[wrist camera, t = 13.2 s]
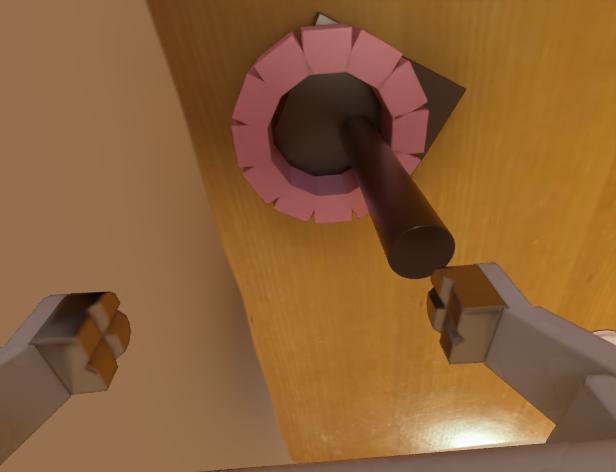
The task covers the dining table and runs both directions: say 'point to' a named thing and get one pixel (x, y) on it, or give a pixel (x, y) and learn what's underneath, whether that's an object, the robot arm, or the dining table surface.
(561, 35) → the dining table surface
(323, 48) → the ring
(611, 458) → the robot arm
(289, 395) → the dining table surface
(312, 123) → the stand
